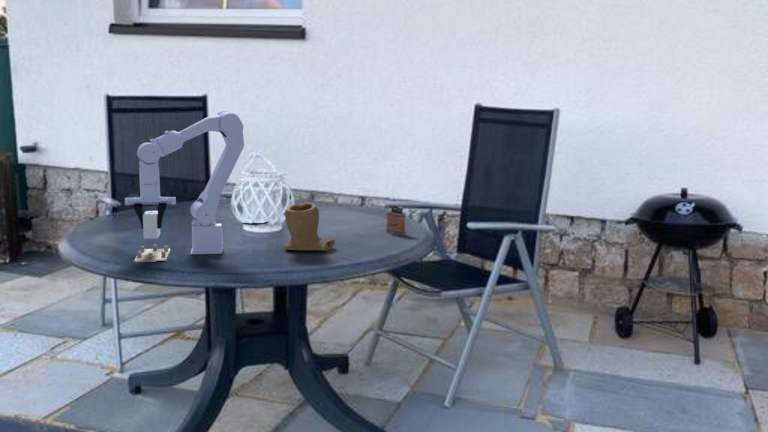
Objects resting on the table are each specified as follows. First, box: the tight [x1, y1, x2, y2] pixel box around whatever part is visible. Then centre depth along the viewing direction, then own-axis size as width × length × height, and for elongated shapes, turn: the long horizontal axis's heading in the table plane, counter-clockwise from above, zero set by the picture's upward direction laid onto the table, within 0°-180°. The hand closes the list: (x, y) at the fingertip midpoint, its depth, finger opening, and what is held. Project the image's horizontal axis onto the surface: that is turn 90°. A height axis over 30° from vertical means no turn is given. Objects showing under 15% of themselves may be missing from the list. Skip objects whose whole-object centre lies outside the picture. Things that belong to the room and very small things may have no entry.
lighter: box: [385, 203, 407, 236], centre depth 275 cm, size 8×3×10 cm, turn 47°
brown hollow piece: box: [284, 202, 336, 252], centre depth 248 cm, size 15×12×15 cm
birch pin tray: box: [133, 243, 172, 263], centre depth 239 cm, size 9×14×2 cm, turn 9°
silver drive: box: [142, 210, 161, 240], centre depth 238 cm, size 4×8×7 cm, turn 9°
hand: (151, 228), depth 238 cm, fingers closed on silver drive, 4 cm apart
